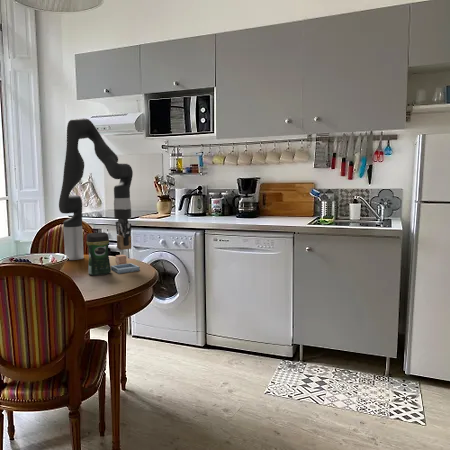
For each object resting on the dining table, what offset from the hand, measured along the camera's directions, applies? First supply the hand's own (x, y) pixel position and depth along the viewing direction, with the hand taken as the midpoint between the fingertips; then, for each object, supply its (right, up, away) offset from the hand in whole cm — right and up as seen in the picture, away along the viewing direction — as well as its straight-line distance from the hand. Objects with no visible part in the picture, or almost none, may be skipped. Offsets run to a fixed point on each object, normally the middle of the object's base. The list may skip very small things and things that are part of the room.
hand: (124, 244), depth 197 cm
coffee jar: (-10, -13, -5) cm, 17 cm away
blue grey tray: (0, -12, +2) cm, 12 cm away
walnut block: (0, -2, 0) cm, 2 cm away
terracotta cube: (-5, -10, +17) cm, 21 cm away
